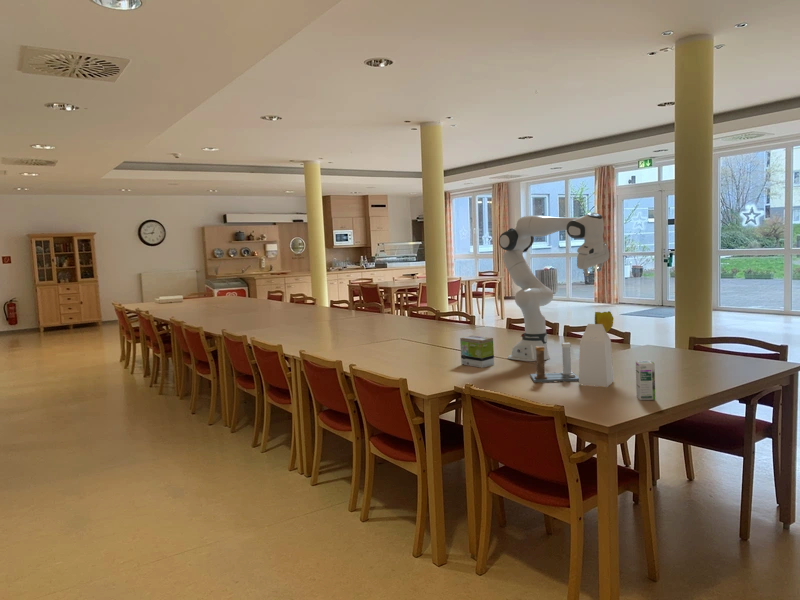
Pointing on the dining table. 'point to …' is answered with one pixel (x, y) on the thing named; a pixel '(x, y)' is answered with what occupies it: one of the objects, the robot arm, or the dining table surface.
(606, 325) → the flower
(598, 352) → the milk
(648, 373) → the syrup box
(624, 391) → the dining table surface
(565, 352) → the grey lever
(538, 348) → the walnut lever
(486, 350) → the tea box
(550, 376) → the control board
